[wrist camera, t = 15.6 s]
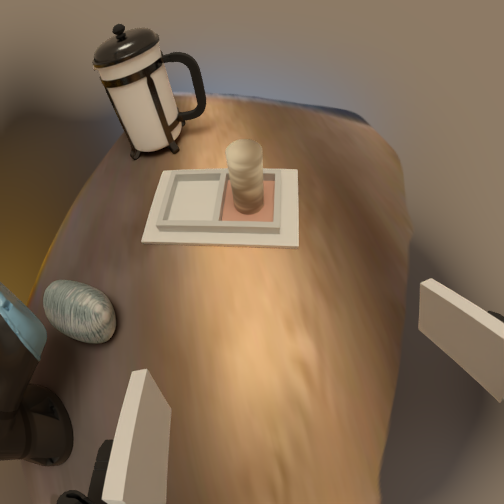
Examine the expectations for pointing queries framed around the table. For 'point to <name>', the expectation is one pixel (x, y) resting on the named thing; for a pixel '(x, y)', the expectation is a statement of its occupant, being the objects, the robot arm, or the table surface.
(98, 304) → the yarn ball
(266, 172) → the white flat tray
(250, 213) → the peg
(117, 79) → the coffee press
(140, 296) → the table surface
